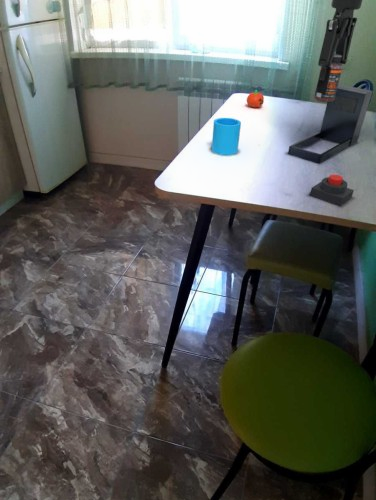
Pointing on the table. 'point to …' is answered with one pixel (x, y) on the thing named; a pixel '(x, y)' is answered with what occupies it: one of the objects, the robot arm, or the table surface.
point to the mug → (226, 136)
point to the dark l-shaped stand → (337, 123)
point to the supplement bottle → (331, 81)
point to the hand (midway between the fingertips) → (326, 91)
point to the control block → (332, 192)
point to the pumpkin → (255, 99)
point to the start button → (335, 180)
